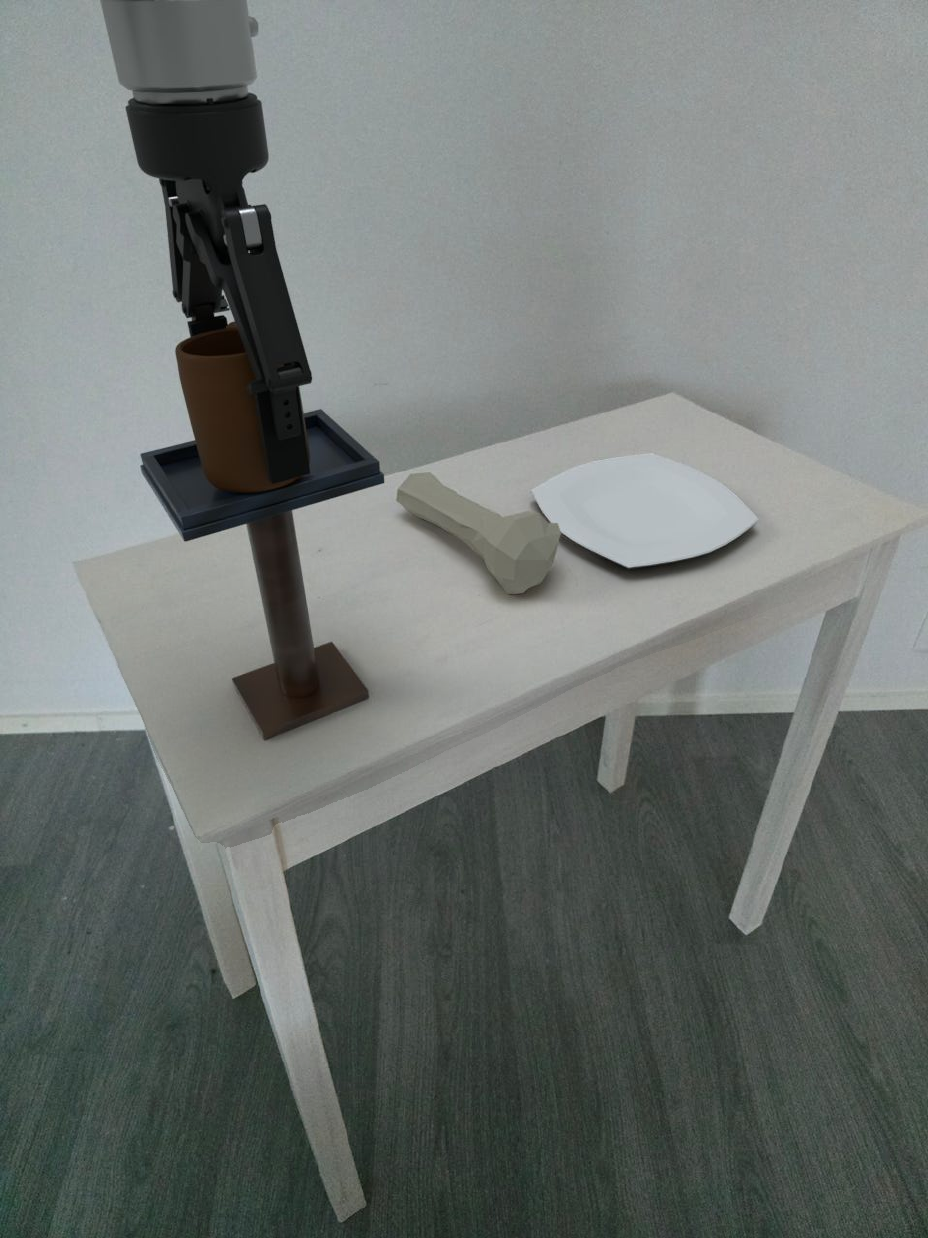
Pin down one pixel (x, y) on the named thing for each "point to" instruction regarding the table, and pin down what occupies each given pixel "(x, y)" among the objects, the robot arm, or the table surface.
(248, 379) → the mug
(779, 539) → the table surface
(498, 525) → the faceted club
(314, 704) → the pedestal tray stand
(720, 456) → the table surface
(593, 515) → the plate
